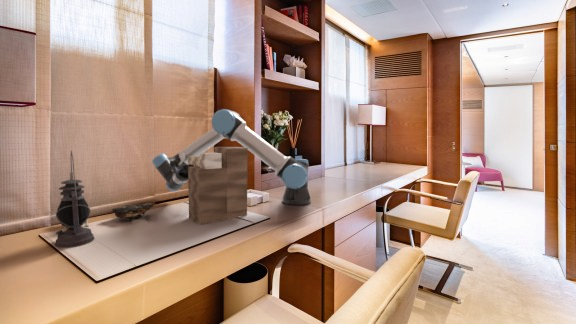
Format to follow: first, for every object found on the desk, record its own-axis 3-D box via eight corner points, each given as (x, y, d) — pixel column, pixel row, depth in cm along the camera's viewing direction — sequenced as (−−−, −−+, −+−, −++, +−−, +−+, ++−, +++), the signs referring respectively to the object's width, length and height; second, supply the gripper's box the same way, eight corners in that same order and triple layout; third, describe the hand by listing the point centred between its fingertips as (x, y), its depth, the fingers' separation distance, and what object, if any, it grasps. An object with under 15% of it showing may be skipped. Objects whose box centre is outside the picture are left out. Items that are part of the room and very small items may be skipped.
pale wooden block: (184, 164, 133) (184, 150, 132) (199, 163, 137) (199, 150, 137) (205, 169, 117) (205, 154, 117) (221, 168, 122) (221, 153, 121)
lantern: (53, 239, 99) (47, 149, 96) (90, 232, 106) (86, 149, 103) (56, 251, 90) (50, 152, 87) (97, 243, 97) (93, 151, 94)
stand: (188, 218, 126) (187, 147, 123) (234, 210, 140) (234, 146, 137) (200, 224, 118) (199, 149, 115) (247, 215, 132) (247, 147, 129)
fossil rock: (136, 224, 116) (136, 210, 115) (106, 222, 119) (106, 207, 118) (159, 215, 129) (159, 202, 129) (131, 213, 132) (131, 200, 132)
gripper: (208, 179, 151) (227, 161, 136) (157, 184, 134) (172, 164, 120) (205, 165, 153) (223, 146, 138) (154, 168, 136) (168, 148, 122)
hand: (199, 155), depth 129 cm, fingers open, 13 cm apart
